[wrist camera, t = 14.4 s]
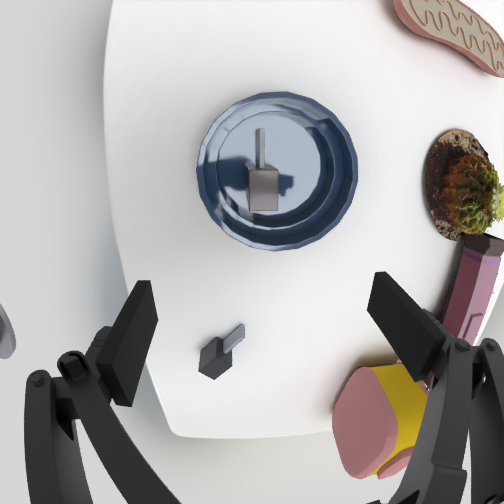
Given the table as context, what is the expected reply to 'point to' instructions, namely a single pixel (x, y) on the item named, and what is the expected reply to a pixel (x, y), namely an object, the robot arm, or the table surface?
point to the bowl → (290, 170)
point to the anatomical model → (455, 30)
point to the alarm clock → (378, 420)
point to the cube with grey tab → (219, 354)
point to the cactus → (462, 186)
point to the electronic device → (471, 287)
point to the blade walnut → (262, 181)
